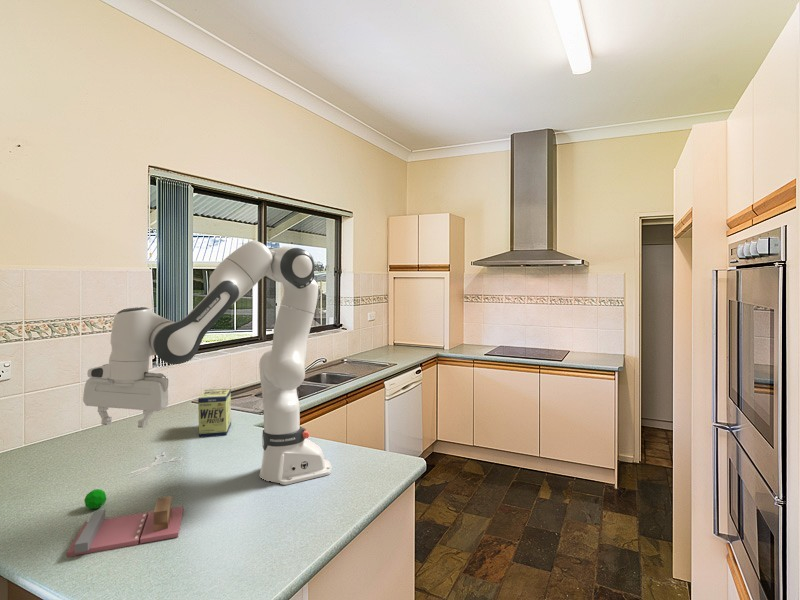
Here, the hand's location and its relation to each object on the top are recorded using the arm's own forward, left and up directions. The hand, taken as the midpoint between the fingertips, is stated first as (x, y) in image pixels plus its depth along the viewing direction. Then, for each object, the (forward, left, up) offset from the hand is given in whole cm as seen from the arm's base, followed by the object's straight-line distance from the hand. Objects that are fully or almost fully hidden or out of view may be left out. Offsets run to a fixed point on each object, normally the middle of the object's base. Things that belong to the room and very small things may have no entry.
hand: (124, 425), depth 117 cm
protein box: (-19, -70, -25) cm, 77 cm away
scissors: (0, -39, -26) cm, 46 cm away
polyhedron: (+10, -12, -25) cm, 29 cm away
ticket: (+3, +5, -25) cm, 26 cm away
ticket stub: (-9, +5, -25) cm, 27 cm away
